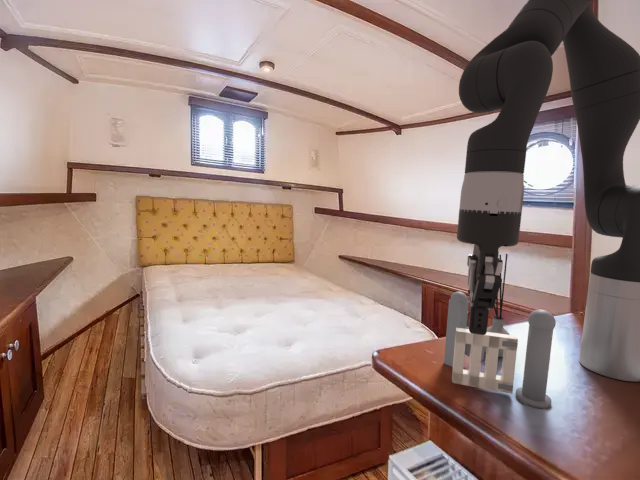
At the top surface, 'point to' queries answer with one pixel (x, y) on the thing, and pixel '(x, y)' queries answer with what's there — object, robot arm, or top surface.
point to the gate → (489, 376)
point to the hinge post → (537, 360)
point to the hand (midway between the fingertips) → (476, 332)
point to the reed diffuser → (498, 321)
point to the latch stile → (457, 325)
